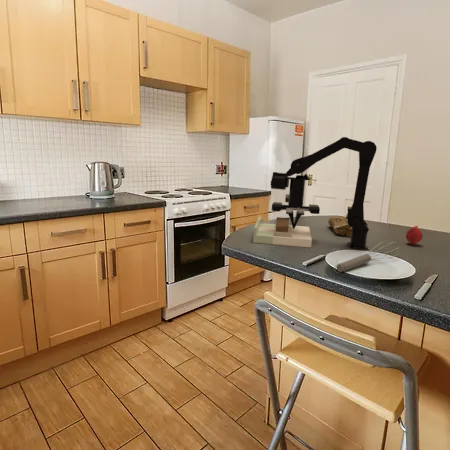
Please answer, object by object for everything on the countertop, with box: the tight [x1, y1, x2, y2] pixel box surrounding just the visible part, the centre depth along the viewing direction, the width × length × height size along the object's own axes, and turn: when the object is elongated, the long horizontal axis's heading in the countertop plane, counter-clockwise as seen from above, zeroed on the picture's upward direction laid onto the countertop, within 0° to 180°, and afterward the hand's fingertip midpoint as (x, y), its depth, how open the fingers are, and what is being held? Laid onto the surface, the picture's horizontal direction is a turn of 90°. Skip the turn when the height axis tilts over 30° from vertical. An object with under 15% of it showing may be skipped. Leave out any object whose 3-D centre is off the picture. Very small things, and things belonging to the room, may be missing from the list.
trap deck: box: [252, 216, 313, 248], centre depth 138 cm, size 22×22×6 cm
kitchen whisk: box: [334, 240, 400, 274], centre depth 110 cm, size 6×34×6 cm, turn 125°
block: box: [275, 216, 290, 233], centre depth 138 cm, size 5×5×5 cm
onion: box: [405, 225, 424, 246], centre depth 134 cm, size 6×6×8 cm
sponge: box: [327, 215, 353, 238], centre depth 152 cm, size 13×8×20 cm
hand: (293, 228), depth 137 cm, fingers closed
